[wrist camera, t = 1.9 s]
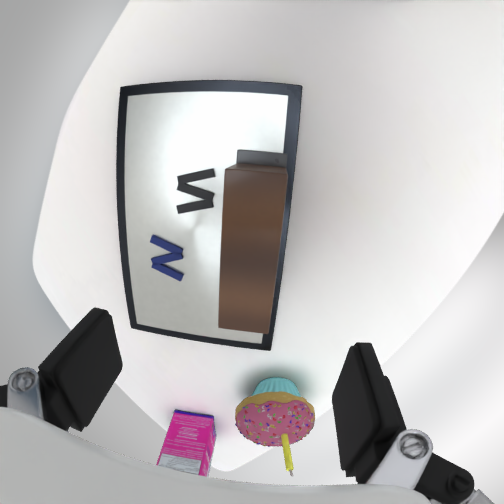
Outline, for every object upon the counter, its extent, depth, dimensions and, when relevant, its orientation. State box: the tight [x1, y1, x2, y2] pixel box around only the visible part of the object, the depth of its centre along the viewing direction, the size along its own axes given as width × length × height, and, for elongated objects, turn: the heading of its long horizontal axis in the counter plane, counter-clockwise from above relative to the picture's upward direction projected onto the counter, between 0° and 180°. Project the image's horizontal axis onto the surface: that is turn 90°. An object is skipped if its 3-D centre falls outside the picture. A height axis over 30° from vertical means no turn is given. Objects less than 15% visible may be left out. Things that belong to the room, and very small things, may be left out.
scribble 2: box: [176, 168, 215, 214], centre depth 22 cm, size 4×3×1 cm
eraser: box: [218, 149, 288, 334], centre depth 20 cm, size 13×4×6 cm, turn 175°
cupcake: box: [235, 377, 315, 476], centre depth 25 cm, size 9×8×12 cm
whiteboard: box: [116, 80, 302, 351], centre depth 24 cm, size 24×15×1 cm, turn 175°
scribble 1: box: [150, 235, 184, 282], centre depth 24 cm, size 4×3×1 cm
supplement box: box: [156, 410, 216, 477], centre depth 30 cm, size 6×6×12 cm
